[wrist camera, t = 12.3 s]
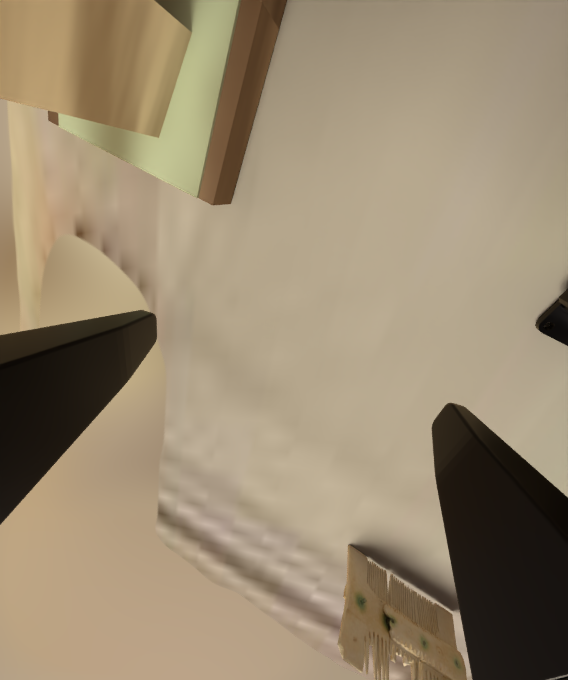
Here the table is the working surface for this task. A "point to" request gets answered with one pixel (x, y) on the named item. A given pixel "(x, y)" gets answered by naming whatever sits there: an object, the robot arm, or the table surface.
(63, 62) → the birch block
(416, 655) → the comb
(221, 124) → the walnut channel
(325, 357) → the table surface
